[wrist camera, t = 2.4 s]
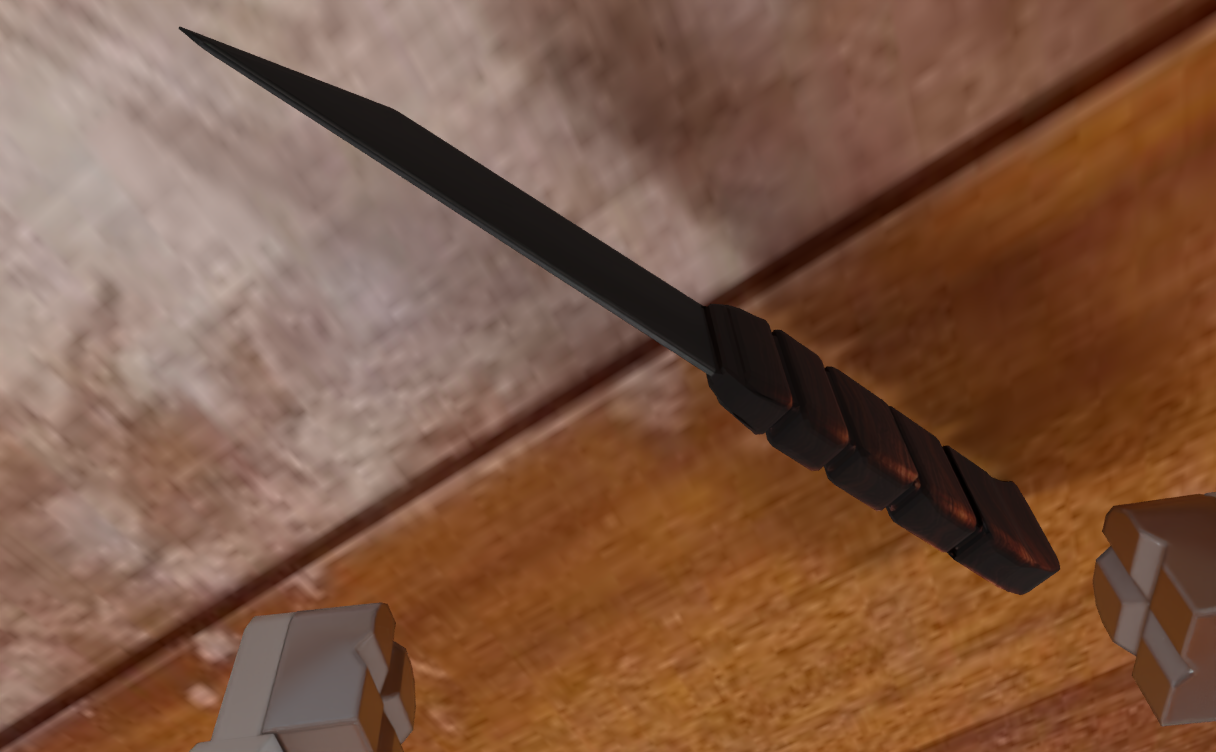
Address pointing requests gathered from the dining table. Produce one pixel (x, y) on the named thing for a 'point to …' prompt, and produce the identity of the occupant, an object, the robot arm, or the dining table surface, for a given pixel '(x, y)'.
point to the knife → (709, 345)
